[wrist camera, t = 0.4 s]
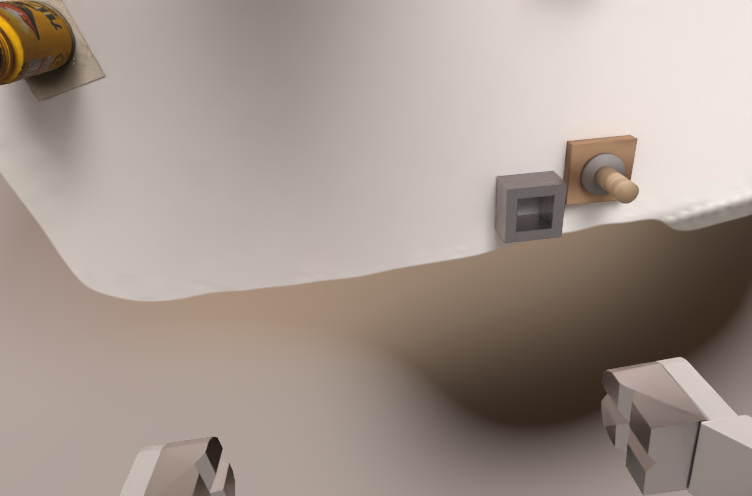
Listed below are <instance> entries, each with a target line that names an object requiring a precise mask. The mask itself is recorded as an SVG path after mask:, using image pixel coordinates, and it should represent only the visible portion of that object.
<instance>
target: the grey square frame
mask: <svg viewBox="0 0 752 496" xmlns="http://www.w3.org/2000/svg"><path fill="white" fill-rule="evenodd" d="M566 187H567V183H566V182H565V181H563V180H562V179H561V178H560V177H559V176H558V175H557V174H556V173H555V172H554V171H547V172H537V173H527V174H517V175H507V176H497V188H496V219H495V228H496V229H497V231H498V233H499V234H500V236H501V238H502V239H503V241H504V243H508V242H518V241H528V240H537V239H548V238H557V237H561V236H562V226H563V217H564V207H565V197H566ZM532 197H541V199H540V212H539V214H533V215H523V216H517V202H518V199H522V198H532Z"/></svg>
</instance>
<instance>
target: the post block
mask: <svg viewBox="0 0 752 496" xmlns="http://www.w3.org/2000/svg"><path fill="white" fill-rule="evenodd" d="M636 144H637V138H635V137H633V136H631V135H626V136H616V137H606V138H596V139H586V140H575V141H567V150H566V160H565V170H564V180H563V181H565V182H566V183H567V187H566V197H565V204H566V205H573V204H583V203H593V202H603V201H613V200H618V201H619V202H621V203H630V202H632V201H633V200H634V199H635V198H636V197H637V195H638V193H639V189H638V186H637V185H636V184H634V183H633V182H632V181H630V180H631V174H632V168H633V162H634V156H635V150H636Z"/></svg>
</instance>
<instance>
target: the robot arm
mask: <svg viewBox="0 0 752 496" xmlns="http://www.w3.org/2000/svg"><path fill="white" fill-rule="evenodd" d="M603 386H604V388H605V389H606V391H607V393H608V394H607V395H606V396H605V398H604V399H603V400H602V417H603V422H604V426H605V429H606V431H607V433H608V436H609V438H610V440H611V441H612V443H613V445H614V447H615V448H617V449H619V450H620V451H622V452H624V453H625V454H627V456H626V467H627V469H628V471H629V472H630V474H631V476H632V477H633V479H634V481H635V482H636V484H637V486H638V487H639V489H640V491H641V493H642V494H643V495H650V494H657V493H665V492H672V491H680V490H688V489H689V490H688V492H689V493H690V494H692V495H693V496H752V418H751V417H749V416H747V415H742V416H737V414H736V413H735V412H734V411H733V410H732V409H731V408H730V407H729V406H728V405H727V404H726V403H725V402H724V400H723V399H722V398H721V397H720V396H719V395H718V394H717V393H716V392H715V391H714V390H713V388H712V387H711V386H710V385H709V384H708V383H707V382H706V381H705V380H704V379H703V378H702V377H701V375H700V374H699V373H698V372H697V371H696V370H695V369H694V368H693V367H692V366H691V365H690V364H689V363H688V362H687V360H685V359H683V358H681V357H679V358H672V359H666V360H661V361H656V362H650V363H644V364H639V365H633V366H627V367H621V368H616V369H611V370H606V371H605V373H604V375H603ZM222 449H223V448H222V446H221V444H220V442H219V440H218V438H217V437H207V438H200V439H193V440H186V441H179V442H172V443H167V444H161V445H154V446H147V447H143V448H142V450H140V451H139V453H138V454H137V456H136V458H135V461H134V463H133V465H132V467H131V470H130V472H129V474H128V476H127V479H126V481H125V483H124V486H123V488H122V490H121V492H120V494H119V496H235V479H234V474H233V470H232V468H231V466H230V463H229V462H227V461H225V460H224V459H222V458H220V457H221V453H222Z"/></svg>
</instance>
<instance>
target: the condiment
mask: <svg viewBox="0 0 752 496" xmlns="http://www.w3.org/2000/svg"><path fill="white" fill-rule="evenodd" d="M73 58H75V60H73ZM73 62H75V64H74V65H73ZM104 76H105V75H104V74H103V72H102V70H101V69H100V67H99V65H98V63H97V61H96V60H95V58H94V57H93V55H92V53H91V51H90V49H89V48H88V46H87V44H86V42H85V40H84V39H83V37H82V35H81V33H80V31H79V30H78V28H77V26H76V24H75V23H74V21H73V19H72V17H71V16H70V14H69V12H68V10H67V8H66V7H65V5H64V3H63V2H62V0H12V1H6V2H0V85H4V84H9V83H12V82H15V81H18V80H21V79H24V78H25V80H26V82H27V83H28V85H29V86H30V88H31V90H32V92H33V93H34V95H35V96H36V98H37V99H38V101H42V100H44V99H47V98H49V97H52V96H55V95H57V94H60V93H63V92H65V91H67V90H70V89H73V88H75V87H78V86H81V85H83V84H86V83H88V82H91V81H93V80H96V79H99V78H101V77H104Z"/></svg>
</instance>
